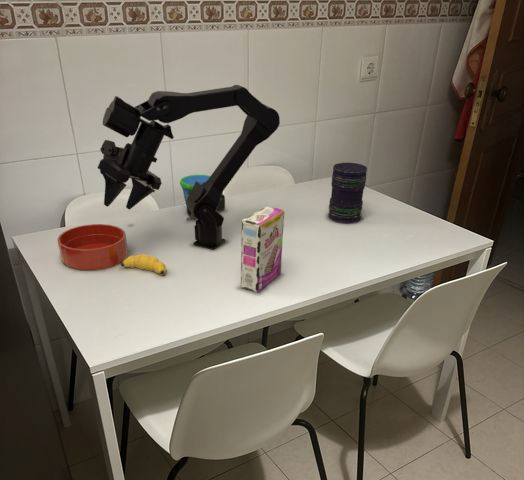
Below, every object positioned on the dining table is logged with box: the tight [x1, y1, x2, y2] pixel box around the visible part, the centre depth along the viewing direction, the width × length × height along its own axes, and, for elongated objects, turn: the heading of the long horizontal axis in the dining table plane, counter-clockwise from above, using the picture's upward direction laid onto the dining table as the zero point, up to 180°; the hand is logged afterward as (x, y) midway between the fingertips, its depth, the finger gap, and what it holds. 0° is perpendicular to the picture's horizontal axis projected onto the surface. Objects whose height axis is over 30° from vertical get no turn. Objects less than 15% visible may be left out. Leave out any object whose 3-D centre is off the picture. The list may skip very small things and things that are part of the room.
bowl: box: [57, 223, 129, 272], centre depth 131 cm, size 16×16×6 cm
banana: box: [120, 254, 167, 275], centre depth 127 cm, size 12×4×3 cm, turn 69°
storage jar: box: [328, 162, 368, 225], centre depth 155 cm, size 10×10×15 cm
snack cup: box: [179, 174, 211, 208], centre depth 156 cm, size 16×10×10 cm
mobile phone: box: [186, 193, 226, 221], centre depth 157 cm, size 5×3×15 cm
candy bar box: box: [240, 205, 285, 293], centre depth 119 cm, size 11×5×16 cm, turn 150°
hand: (117, 207), depth 126 cm, fingers open, 9 cm apart
